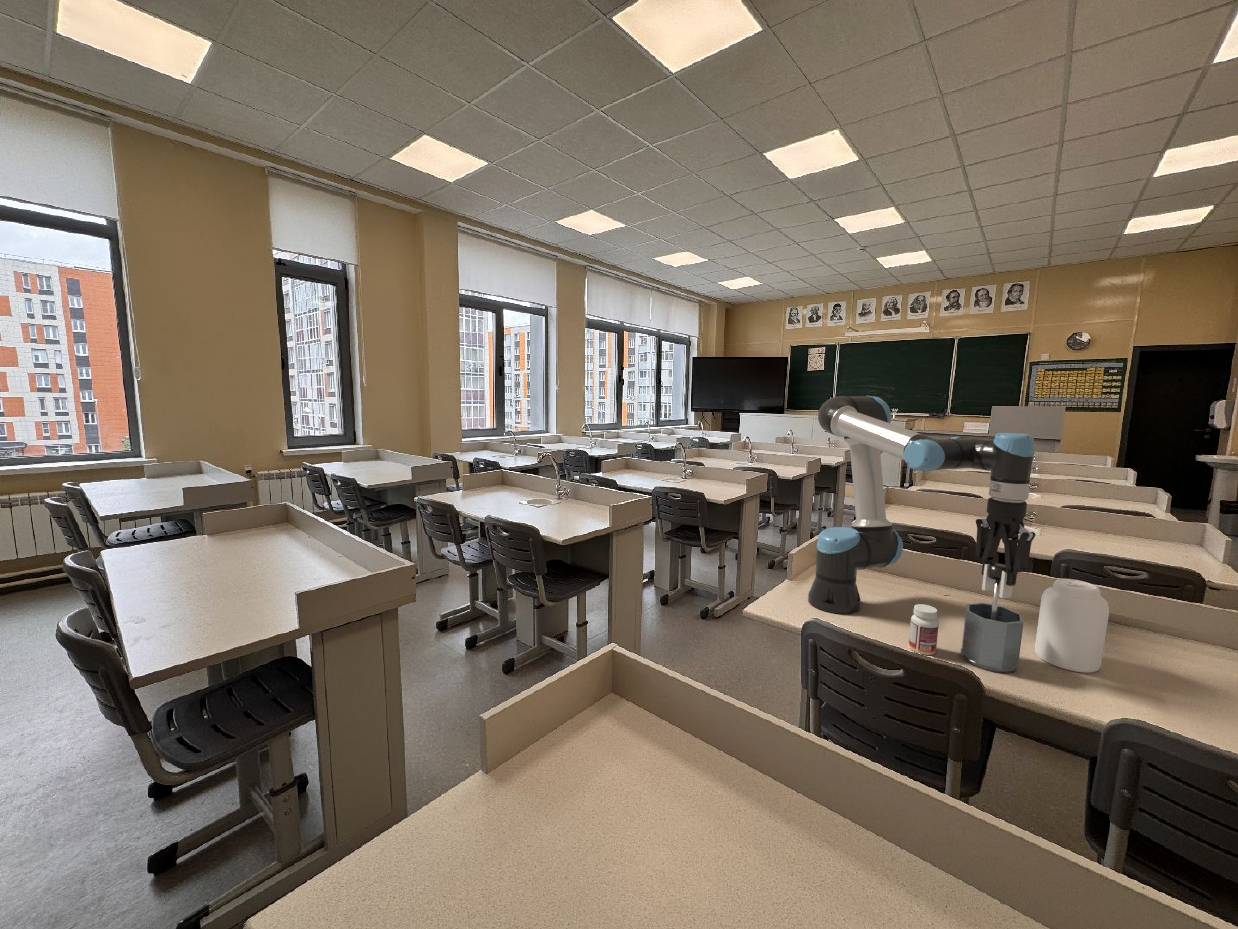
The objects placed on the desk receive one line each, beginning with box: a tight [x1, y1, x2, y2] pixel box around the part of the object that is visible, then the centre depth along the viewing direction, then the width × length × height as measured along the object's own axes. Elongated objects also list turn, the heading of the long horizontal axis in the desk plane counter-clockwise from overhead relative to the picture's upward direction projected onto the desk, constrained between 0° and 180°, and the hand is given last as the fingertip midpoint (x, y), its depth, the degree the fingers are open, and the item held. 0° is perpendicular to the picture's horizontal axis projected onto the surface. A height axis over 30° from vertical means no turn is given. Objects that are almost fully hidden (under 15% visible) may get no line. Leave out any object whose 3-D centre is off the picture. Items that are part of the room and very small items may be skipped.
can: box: [1034, 578, 1110, 673], centre depth 128 cm, size 12×12×20 cm
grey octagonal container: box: [960, 602, 1025, 674], centre depth 129 cm, size 12×14×12 cm
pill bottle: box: [908, 603, 939, 656], centre depth 134 cm, size 6×6×11 cm
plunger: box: [988, 562, 1006, 621], centre depth 127 cm, size 8×8×23 cm
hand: (996, 593), depth 127 cm, fingers closed on plunger, 4 cm apart
